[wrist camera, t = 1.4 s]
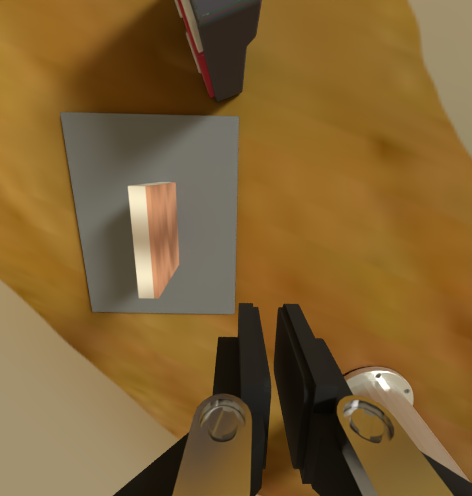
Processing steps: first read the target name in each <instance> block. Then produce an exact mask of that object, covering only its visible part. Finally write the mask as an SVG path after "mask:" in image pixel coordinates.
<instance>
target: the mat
mask: <svg viewBox="0 0 472 496" xmlns="http://www.w3.org/2000/svg"><path fill="white" fill-rule="evenodd" d="M60 115H61V121H62V127H63V133H64V140H65V146H66V152H67V158H68V164H69V170H70V177H71V183H72V189H73V195H74V201H75V208H76V214H77V220H78V226H79V232H80V238H81V245H82V251H83V257H84V263H85V269H86V275H87V282H88V288H89V294H90V300H91V306H92V312H126V313H191V314H235V269H236V223H237V177H238V130H239V116H201V115H160V114H118V113H77V112H60ZM157 182H175V183H176V204H177V225H178V246H179V266H178V267H177V269H176V271H175V272H174V274H173V276H172V277H171V279H170V281H169V282H168V284H167V286H166V287H165V289H164V290H163V292H162V294H161V295H160V297H159V299H156V298H139V294H138V284H137V274H136V264H135V254H134V244H133V234H132V224H131V214H130V204H129V194H128V186H132V185H140V184H149V183H157Z"/></svg>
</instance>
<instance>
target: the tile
mask: <svg viewBox="0 0 472 496" xmlns="http://www.w3.org/2000/svg"><path fill="white" fill-rule="evenodd" d="M128 194H129V204H130V214H131V224H132V234H133V244H134V254H135V264H136V274H137V284H138V294H139V298H156V299H159V297H160V295H161V294H162V292H163V290H164V289H165V287H166V286H167V284H168V282H169V281H170V279H171V277H172V276H173V274H174V272H175V271H176V269H177V267H178V266H179V246H178V225H177V204H176V183H175V182H157V183H149V184H140V185H132V186H128Z"/></svg>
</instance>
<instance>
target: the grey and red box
mask: <svg viewBox="0 0 472 496" xmlns="http://www.w3.org/2000/svg"><path fill="white" fill-rule="evenodd" d="M261 2H262V0H175V3H176V6H177V9H178V12H179V15H180V18H182V17H183V20H184V23H185V26H186V29H187V32H186V36H187V39H188V42H189V45H190V48H191V51H192V54H193V57H194V60H195V63H196V65H197V68H198V71H199V73H201V74H202V77H203V79H204V82H205V85H206V88H207V91H208V94H209V97H210V98H212V97H214V96H215V98H216V101H217V102H219V101H222V100H224V99H227V98H229V97H232V96H234V95H237V94H239V93H241V92H242V90H243V79H244V69H245V59H246V49H247V46H248V44H249V43H250V42H251V41H252V40H253V39H254V38H255V36H256V33H257V27H258V21H259V15H260V9H261Z"/></svg>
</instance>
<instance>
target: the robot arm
mask: <svg viewBox="0 0 472 496" xmlns="http://www.w3.org/2000/svg"><path fill="white" fill-rule="evenodd" d="M274 375H275V380H276V385H277V390H278V395H279V400H280V405H281V410H282V415H283V420H284V425H285V430H286V435H287V440H288V445H289V450H290V455H291V460H292V465H293V468H294V469H300V474H301V478H302V483H303V484H311V485H312V488H313V489H314V490H315V491H316V492H317V493H318V494H319V495H320V496H472V483H471V482H470V481H469V480H468V478H467V477H466V476H465V474H464V473H463V472H462V470H461V469H460V468H459V466H458V465H457V464H456V463H455V461H454V460H453V459H452V457H451V456H450V455H449V453H448V452H447V451H446V449H445V448H444V447H443V446H442V444H441V443H440V442H439V440H438V439H437V438H436V436H435V435H434V434H433V432H432V431H431V430H430V428H429V427H428V426H427V425H426V423H425V422H424V421H423V419H422V418H421V417H420V415H419V414H418V413H417V411H416V410H415V409H414V408H413V406H412V405H413V400H414V398H413V391H412V389H411V387H410V385H409V384H408V382H407V381H406V380H405V379H404V378H403V377H402V375H400V374H399V373H397V372H396V371H393V370H391V369H388V368H384V367H366V368H362V369H358V370H355V371H353V372H351V373H349V374H347V375H346V376H344V377H343V375H342V373H341V371H340V369H339V367H338V365H337V363H336V362H335V360H334V358H333V356H332V354H331V352H330V350H329V349H328V347H327V345H326V343H325V341H324V340H323V339H321V338H315V337H314V335H313V333H312V331H311V329H310V327H309V325H308V323H307V321H306V319H305V317H304V314H303V312H302V310H301V308H300V306H299V305H298V304H284V305H283V308H282V307H279V308H278V315H277V328H276V341H275V354H274ZM270 402H271V379H270V372H269V367H268V361H267V355H266V350H265V344H264V338H263V332H262V327H261V321H260V315H259V310H258V307H253V303H239V313H238V337H218V345H217V355H216V366H215V376H214V386H213V396H210V397H209V398H207V399H206V400H204V401H203V402H202V403H201V404H200V405H199V406H198V407H197V409H196V412H195V414H194V417H193V420H192V424H191V428H190V432H189V433H187V434H186V435H185V436H184V437H183V438H181V439H180V440H179V441H178V442H177V443H176V444H174V445H173V446H172V447H171V448H169V449H168V450H167V451H166V452H165V453H163V454H162V455H161V456H160V457H159V458H157V459H156V460H155V461H154V462H153V463H151V465H149V466H148V467H147V468H146V469H144V470H143V471H142V472H141V473H139V474H138V475H137V476H136V477H135V478H133V479H132V480H131V481H130V482H129V483H127V484H126V485H125V486H124V487H123V488H121V489H120V490H119V491H118V492H117V493H116V494H115V495H113V496H255V495H256V494H257V493H258V491H259V490H260V489H261V484H262V470H263V469H265V467H266V454H267V441H268V428H269V415H270Z"/></svg>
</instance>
